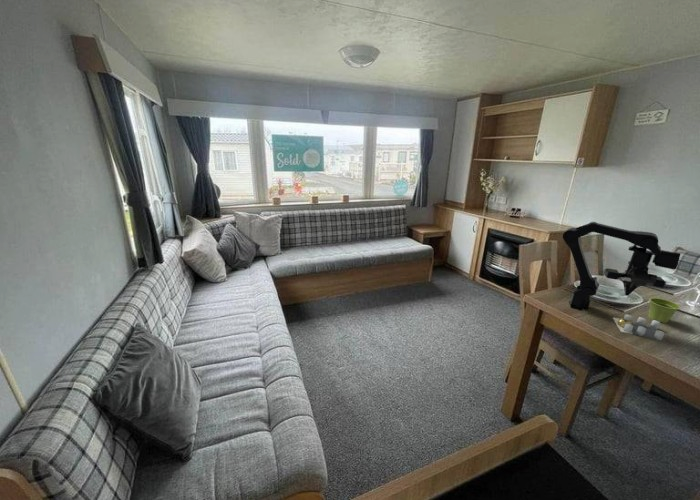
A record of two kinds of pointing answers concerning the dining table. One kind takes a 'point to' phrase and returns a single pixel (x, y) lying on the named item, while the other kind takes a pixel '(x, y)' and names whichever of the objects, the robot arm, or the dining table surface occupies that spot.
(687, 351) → the dining table surface
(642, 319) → the board
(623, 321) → the brass knob
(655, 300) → the plant pot
